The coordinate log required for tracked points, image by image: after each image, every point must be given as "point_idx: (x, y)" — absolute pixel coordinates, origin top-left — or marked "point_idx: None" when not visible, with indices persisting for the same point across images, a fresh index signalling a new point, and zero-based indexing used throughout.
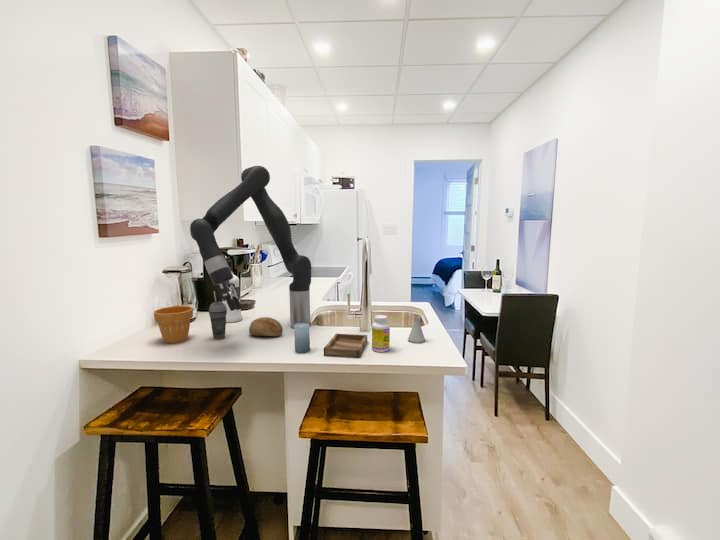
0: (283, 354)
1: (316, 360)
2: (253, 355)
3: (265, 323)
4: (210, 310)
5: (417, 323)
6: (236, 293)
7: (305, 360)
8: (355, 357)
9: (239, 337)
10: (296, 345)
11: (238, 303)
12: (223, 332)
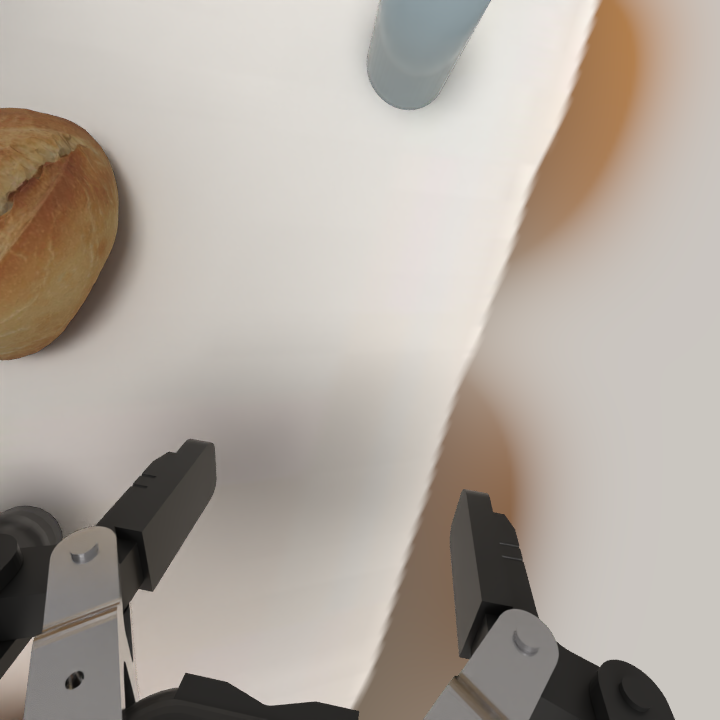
0: (434, 175)
1: (560, 28)
2: (404, 325)
3: (62, 225)
4: None
5: None
6: (110, 618)
7: (544, 81)
8: None
9: (51, 416)
10: (442, 79)
11: (177, 497)
12: (23, 528)
